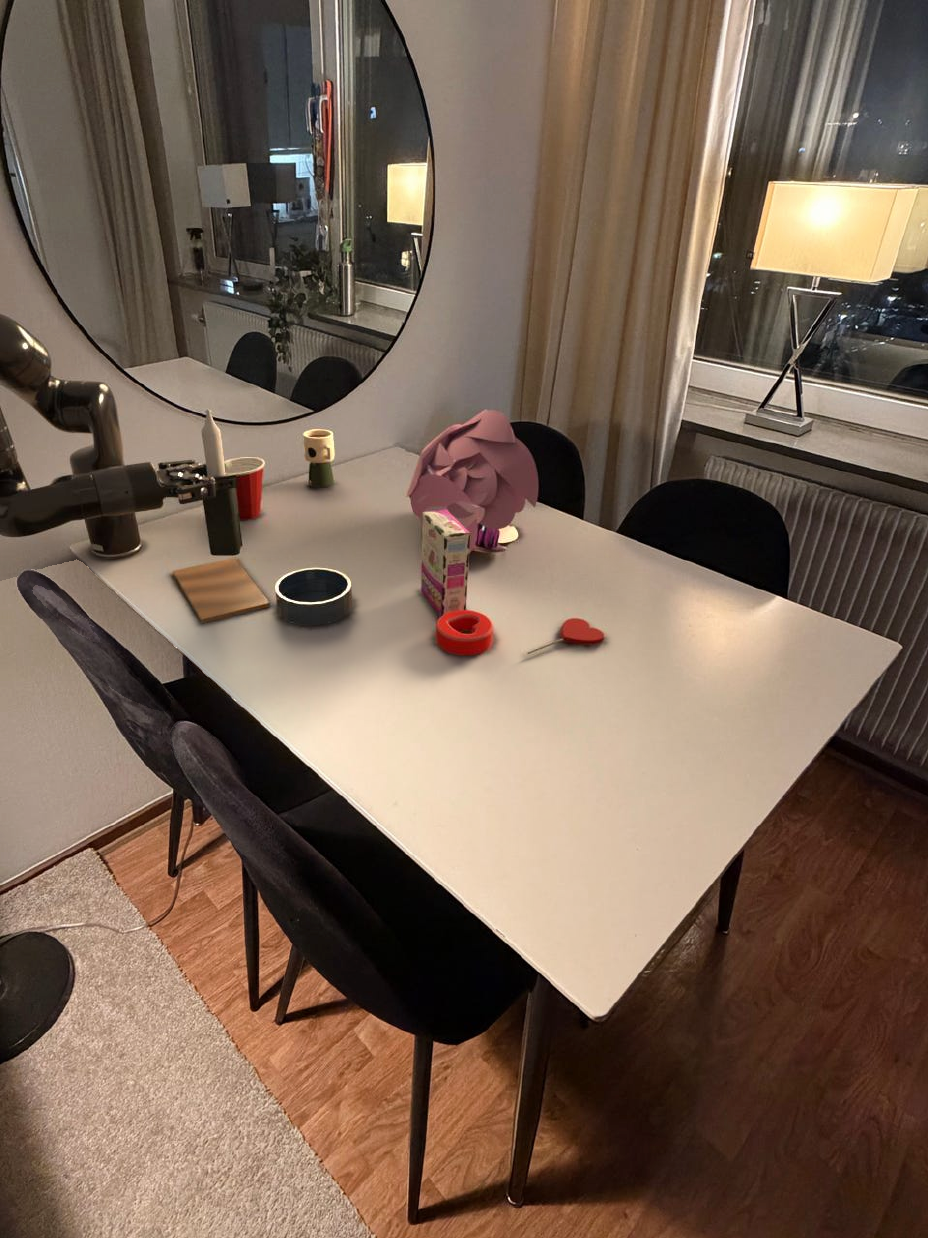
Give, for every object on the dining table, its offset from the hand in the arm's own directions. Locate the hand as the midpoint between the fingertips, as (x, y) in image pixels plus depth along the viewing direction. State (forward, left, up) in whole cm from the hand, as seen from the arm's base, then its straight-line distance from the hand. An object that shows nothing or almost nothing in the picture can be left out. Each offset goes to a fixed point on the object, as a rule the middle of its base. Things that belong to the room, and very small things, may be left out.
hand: (230, 473), depth 125 cm
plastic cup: (-33, +11, -23) cm, 41 cm away
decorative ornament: (+34, +27, -23) cm, 49 cm away
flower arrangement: (-1, +51, -23) cm, 56 cm away
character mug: (-42, +33, -23) cm, 58 cm away
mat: (-2, -4, -23) cm, 23 cm away
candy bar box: (+22, +30, -23) cm, 43 cm away
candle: (0, -3, -14) cm, 14 cm away
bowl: (+12, +9, -23) cm, 27 cm away
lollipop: (+43, +41, -23) cm, 63 cm away
